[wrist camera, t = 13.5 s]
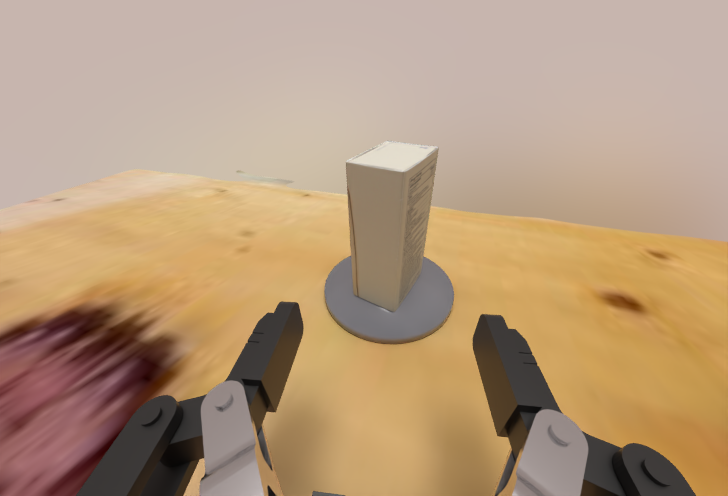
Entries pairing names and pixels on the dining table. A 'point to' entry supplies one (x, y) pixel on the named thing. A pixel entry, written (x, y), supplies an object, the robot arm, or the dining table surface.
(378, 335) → the coaster
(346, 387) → the dining table surface
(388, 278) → the skincare box
